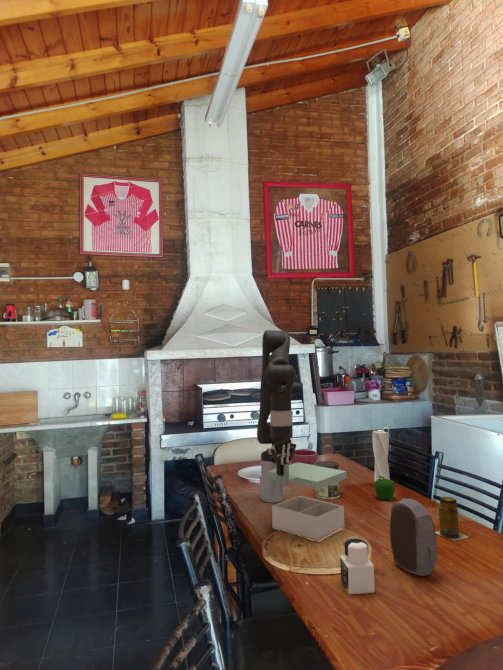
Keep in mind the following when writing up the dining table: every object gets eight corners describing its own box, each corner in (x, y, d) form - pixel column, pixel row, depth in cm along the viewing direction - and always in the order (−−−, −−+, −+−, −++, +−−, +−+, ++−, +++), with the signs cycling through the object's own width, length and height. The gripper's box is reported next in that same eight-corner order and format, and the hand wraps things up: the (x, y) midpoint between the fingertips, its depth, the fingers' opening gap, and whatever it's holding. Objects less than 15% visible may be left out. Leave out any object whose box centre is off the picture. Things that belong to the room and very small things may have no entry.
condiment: (448, 529, 162) (447, 494, 162) (469, 537, 154) (467, 501, 155) (433, 533, 158) (432, 497, 159) (453, 541, 151) (452, 504, 151)
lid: (257, 481, 163) (257, 459, 163) (298, 468, 180) (297, 449, 180) (307, 493, 148) (306, 469, 148) (346, 478, 164) (346, 457, 165)
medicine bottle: (340, 581, 126) (339, 536, 126) (366, 580, 126) (364, 535, 127) (348, 595, 118) (346, 547, 119) (375, 593, 119) (373, 545, 120)
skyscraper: (393, 486, 215) (391, 426, 217) (389, 490, 209) (386, 428, 210) (376, 484, 219) (374, 425, 221) (371, 488, 213) (369, 427, 214)
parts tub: (272, 528, 166) (272, 505, 166) (299, 516, 177) (299, 495, 178) (318, 542, 152) (317, 518, 152) (344, 529, 163) (343, 506, 164)
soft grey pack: (386, 561, 137) (384, 493, 138) (408, 556, 140) (406, 489, 141) (423, 584, 123) (421, 508, 124) (447, 577, 127) (444, 503, 128)
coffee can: (339, 492, 207) (339, 461, 208) (339, 499, 197) (338, 466, 198) (316, 492, 209) (316, 460, 210) (315, 498, 199) (314, 465, 200)
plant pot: (319, 481, 227) (319, 454, 228) (291, 481, 228) (290, 455, 228) (316, 473, 242) (315, 449, 242) (289, 474, 242) (288, 449, 242)
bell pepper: (393, 496, 201) (392, 472, 201) (397, 502, 193) (396, 477, 193) (373, 495, 202) (372, 472, 202) (376, 501, 193) (375, 477, 194)
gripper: (285, 420, 164) (286, 469, 163) (259, 424, 154) (260, 477, 154) (302, 422, 159) (303, 472, 158) (276, 427, 149) (277, 481, 148)
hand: (282, 474), depth 156 cm, fingers closed on lid, 1 cm apart
